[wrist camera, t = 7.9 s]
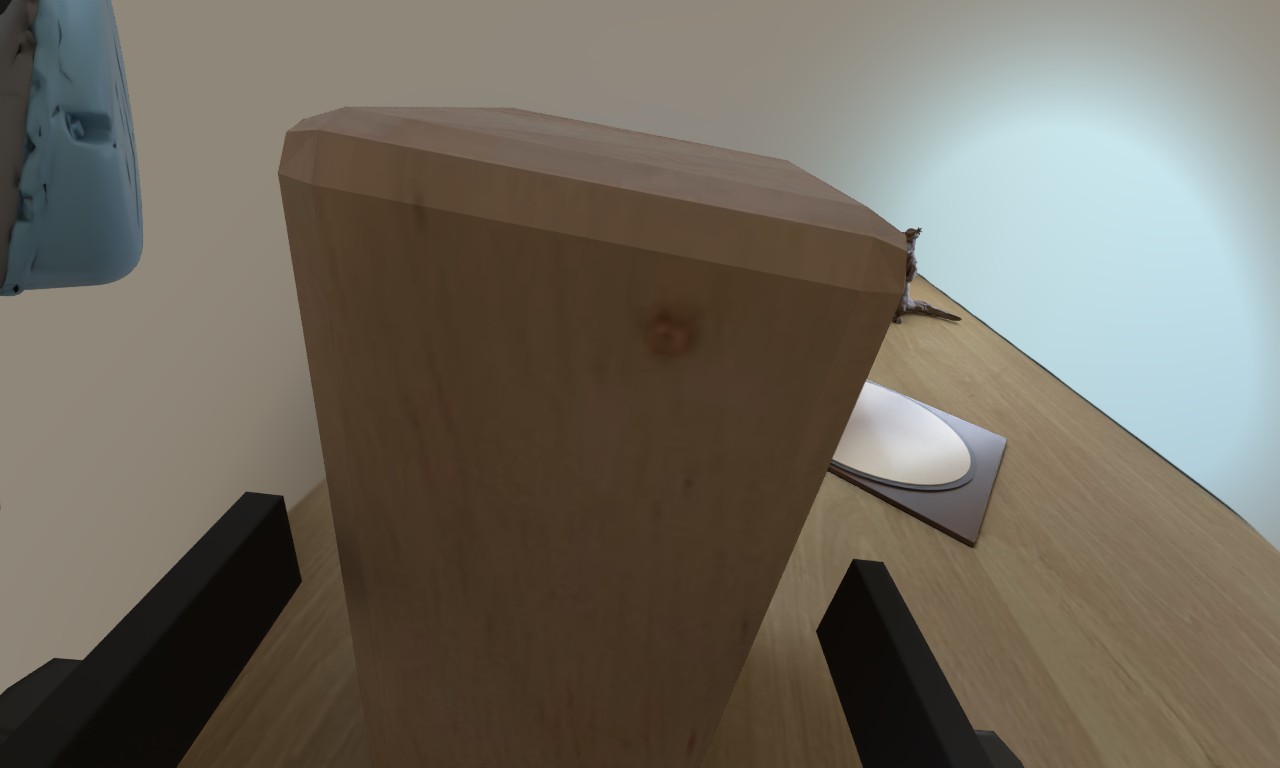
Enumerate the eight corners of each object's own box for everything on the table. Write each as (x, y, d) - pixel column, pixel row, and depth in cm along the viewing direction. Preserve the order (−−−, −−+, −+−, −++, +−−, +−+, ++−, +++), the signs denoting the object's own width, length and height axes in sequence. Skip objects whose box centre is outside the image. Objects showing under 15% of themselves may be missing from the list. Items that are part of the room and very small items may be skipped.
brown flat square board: (707, 406, 42) (709, 400, 42) (797, 353, 55) (799, 348, 55) (972, 547, 32) (976, 541, 32) (1005, 442, 45) (1008, 437, 45)
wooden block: (671, 865, 16) (963, 234, 7) (363, 803, 16) (228, 92, 7) (680, 602, 25) (814, 163, 16) (479, 561, 25) (490, 101, 16)
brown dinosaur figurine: (863, 317, 71) (900, 225, 65) (854, 296, 79) (885, 213, 73) (978, 344, 69) (1027, 252, 63) (956, 319, 77) (997, 236, 71)
